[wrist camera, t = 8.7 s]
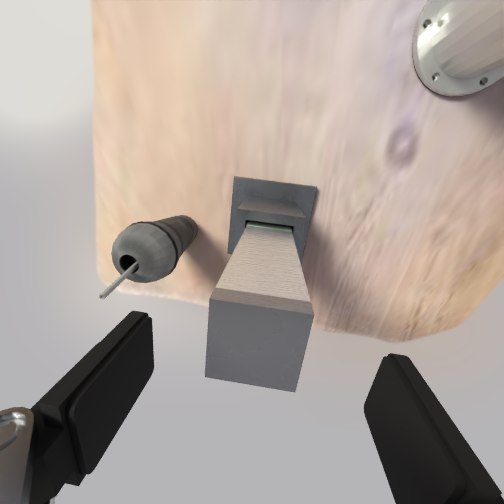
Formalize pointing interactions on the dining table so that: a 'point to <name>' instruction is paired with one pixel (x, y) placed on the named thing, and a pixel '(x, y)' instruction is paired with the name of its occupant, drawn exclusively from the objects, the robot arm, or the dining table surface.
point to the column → (260, 312)
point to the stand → (271, 208)
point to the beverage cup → (150, 249)
